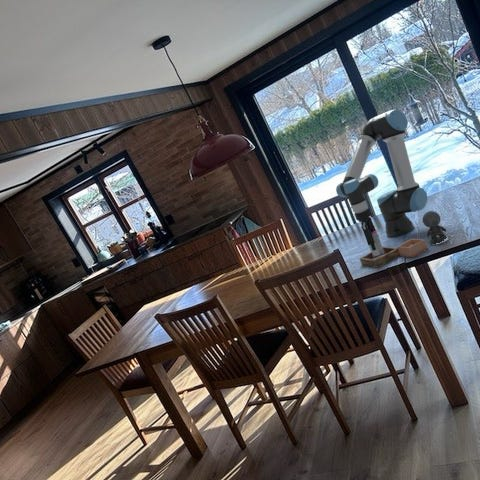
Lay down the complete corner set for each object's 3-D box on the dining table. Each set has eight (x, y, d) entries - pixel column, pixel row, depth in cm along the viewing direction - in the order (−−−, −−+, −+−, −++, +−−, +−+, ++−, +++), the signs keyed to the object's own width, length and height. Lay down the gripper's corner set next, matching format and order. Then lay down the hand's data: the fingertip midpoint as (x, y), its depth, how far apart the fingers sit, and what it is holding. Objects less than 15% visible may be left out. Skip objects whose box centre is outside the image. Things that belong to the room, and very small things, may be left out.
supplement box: (385, 254, 214) (377, 232, 212) (373, 258, 216) (365, 237, 214) (384, 250, 220) (375, 230, 218) (372, 254, 221) (364, 234, 219)
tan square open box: (415, 247, 213) (411, 238, 213) (427, 249, 205) (424, 239, 204) (400, 256, 211) (396, 246, 210) (412, 257, 203) (409, 248, 202)
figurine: (447, 235, 211) (437, 206, 209) (450, 241, 202) (439, 211, 200) (429, 240, 214) (418, 212, 212) (431, 247, 205) (420, 218, 203)
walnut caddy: (383, 252, 226) (381, 246, 226) (401, 254, 213) (398, 248, 212) (361, 264, 223) (359, 258, 223) (378, 267, 210) (375, 261, 209)
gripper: (357, 207, 224) (374, 247, 228) (350, 218, 207) (367, 262, 211) (372, 202, 220) (388, 243, 224) (365, 213, 203) (383, 258, 207)
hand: (378, 252), depth 217 cm, fingers closed on supplement box, 7 cm apart
